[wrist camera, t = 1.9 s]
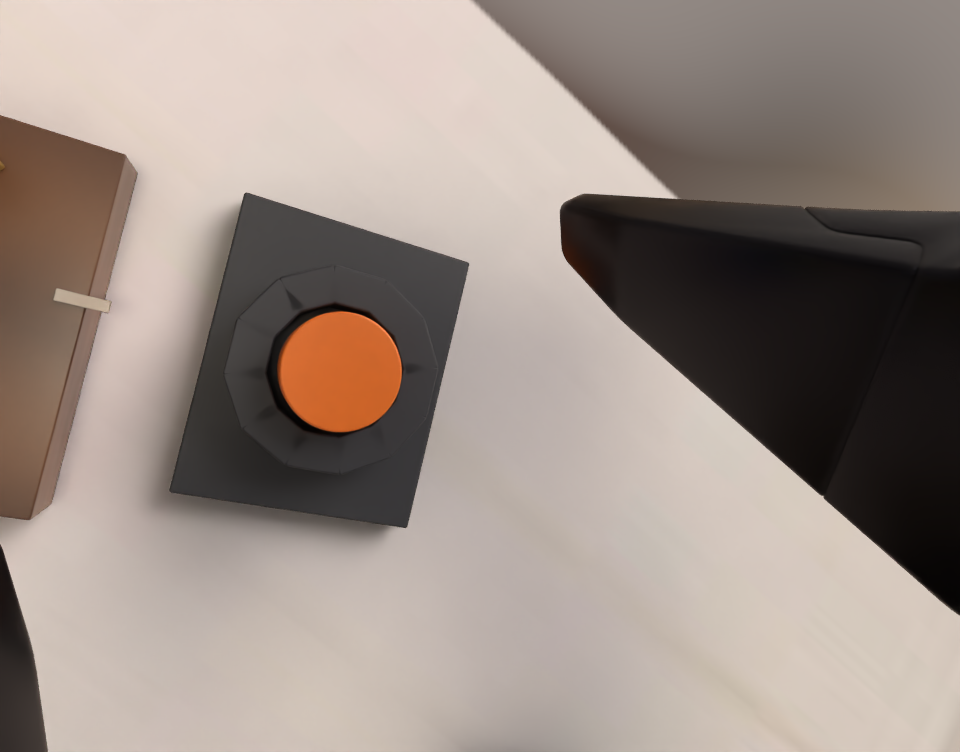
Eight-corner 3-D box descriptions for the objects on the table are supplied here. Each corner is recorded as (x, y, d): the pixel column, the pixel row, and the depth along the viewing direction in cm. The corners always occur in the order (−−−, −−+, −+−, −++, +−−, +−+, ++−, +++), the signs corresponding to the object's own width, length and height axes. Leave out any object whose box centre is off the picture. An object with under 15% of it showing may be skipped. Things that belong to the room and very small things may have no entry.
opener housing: (400, 520, 24) (419, 543, 21) (173, 484, 21) (160, 506, 18) (460, 266, 24) (487, 255, 21) (245, 199, 21) (243, 176, 18)
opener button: (376, 435, 21) (386, 443, 19) (264, 413, 19) (265, 419, 18) (401, 330, 21) (414, 328, 19) (292, 301, 19) (295, 296, 18)
